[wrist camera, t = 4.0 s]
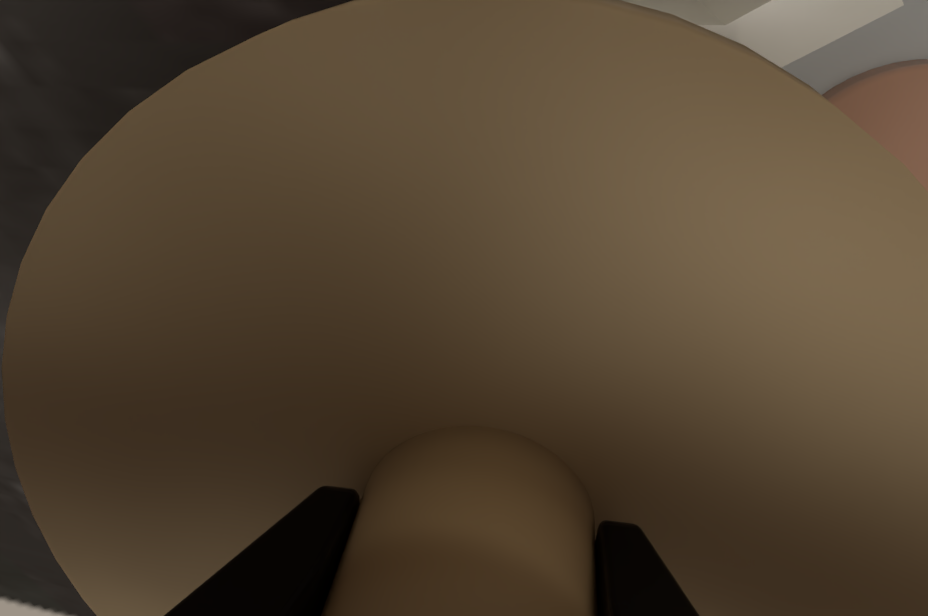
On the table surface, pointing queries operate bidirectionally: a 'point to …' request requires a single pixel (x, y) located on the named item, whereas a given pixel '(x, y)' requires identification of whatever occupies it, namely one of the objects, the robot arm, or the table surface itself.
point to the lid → (483, 321)
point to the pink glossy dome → (891, 110)
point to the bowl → (777, 21)
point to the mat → (867, 48)
